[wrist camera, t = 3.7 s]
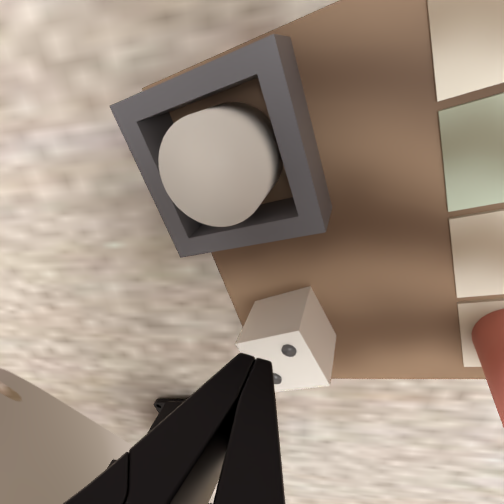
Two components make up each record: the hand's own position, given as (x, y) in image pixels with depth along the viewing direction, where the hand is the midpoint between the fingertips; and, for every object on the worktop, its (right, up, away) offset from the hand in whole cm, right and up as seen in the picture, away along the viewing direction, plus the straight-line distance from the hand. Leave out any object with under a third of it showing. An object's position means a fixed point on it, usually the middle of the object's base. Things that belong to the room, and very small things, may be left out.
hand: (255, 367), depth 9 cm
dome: (-1, +8, +9) cm, 12 cm away
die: (+3, -1, +14) cm, 14 cm away
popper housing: (-1, +8, +9) cm, 12 cm away
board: (+7, +4, +9) cm, 13 cm away
